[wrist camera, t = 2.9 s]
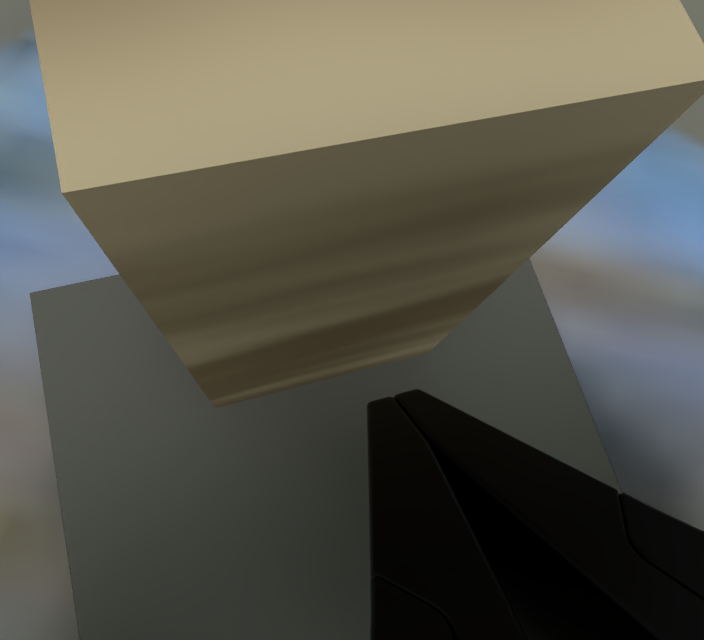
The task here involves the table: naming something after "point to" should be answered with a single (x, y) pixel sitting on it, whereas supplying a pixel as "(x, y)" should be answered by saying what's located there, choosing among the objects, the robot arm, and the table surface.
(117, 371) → the rubber mat
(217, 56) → the maple block
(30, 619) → the table surface
